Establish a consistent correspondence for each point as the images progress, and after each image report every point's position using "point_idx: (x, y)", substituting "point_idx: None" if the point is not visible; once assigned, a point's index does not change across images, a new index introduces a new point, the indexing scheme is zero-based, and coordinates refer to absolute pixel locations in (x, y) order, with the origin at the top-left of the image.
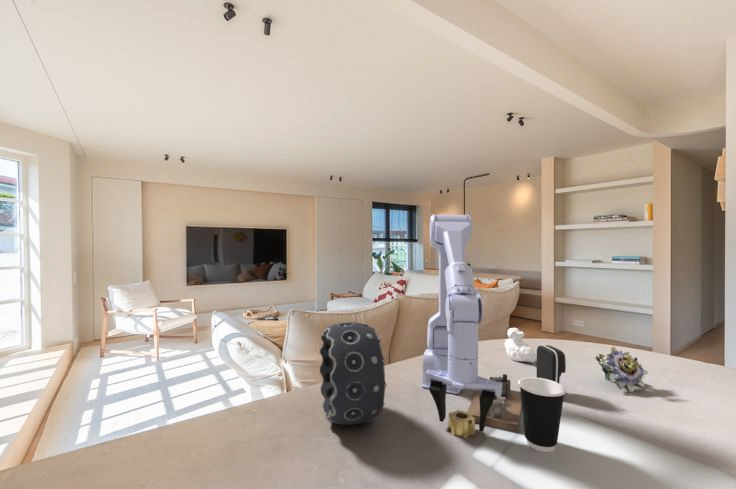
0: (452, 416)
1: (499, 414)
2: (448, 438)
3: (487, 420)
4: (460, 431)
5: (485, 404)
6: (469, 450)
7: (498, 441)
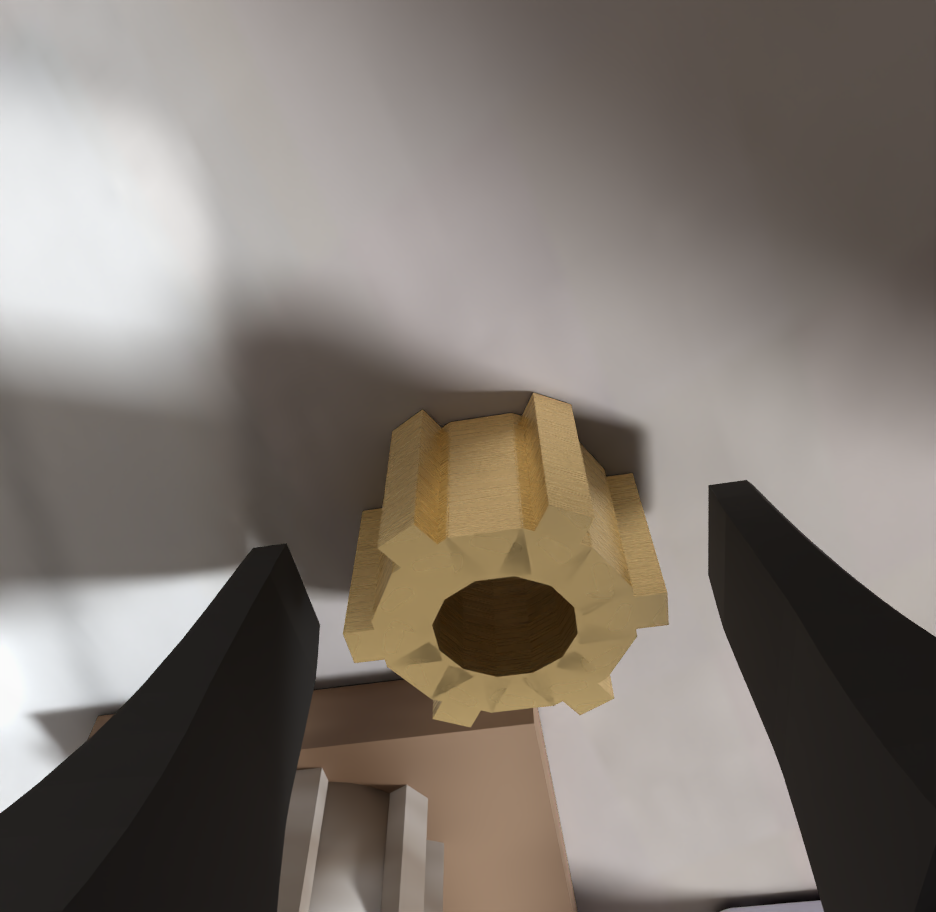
0: (602, 563)
1: None
2: (568, 306)
3: (335, 727)
4: (472, 450)
5: (19, 849)
6: (264, 224)
7: (138, 537)
